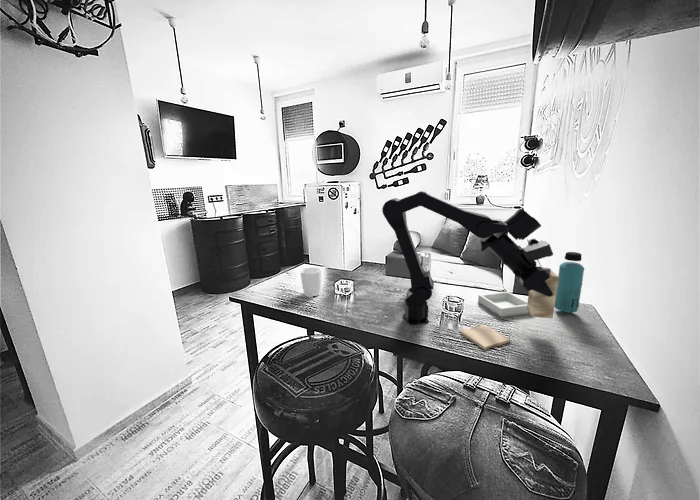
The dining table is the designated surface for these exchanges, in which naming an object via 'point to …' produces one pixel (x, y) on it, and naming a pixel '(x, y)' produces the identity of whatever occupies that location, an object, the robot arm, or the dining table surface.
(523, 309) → the tray
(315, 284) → the white cup
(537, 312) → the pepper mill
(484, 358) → the dining table surface
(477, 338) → the cork coaster
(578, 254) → the beverage bottle
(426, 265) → the beer glass
